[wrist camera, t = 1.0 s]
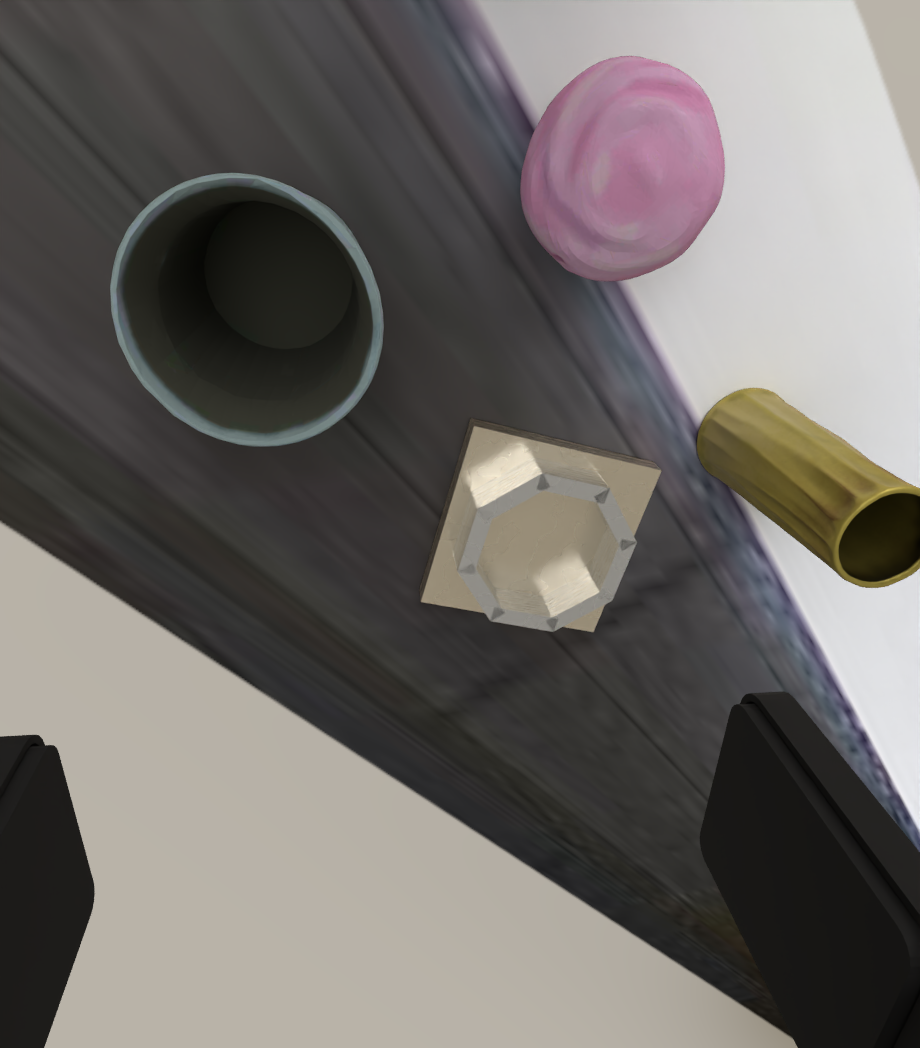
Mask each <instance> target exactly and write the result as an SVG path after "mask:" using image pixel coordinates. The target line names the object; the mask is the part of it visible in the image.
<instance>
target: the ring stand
mask: <svg viewBox="0 0 920 1048" xmlns="http://www.w3.org/2000/svg"><path fill="white" fill-rule="evenodd" d="M661 471H662V470H661V469H660V468H659V467H658V466H657V465H656V464H655V463H654V462H653V461H649V460H645V459H640V458H636V457H632V456H628V455H624V454H619V453H615V452H611V451H607V450H603V449H598V448H594V447H590V446H586V445H582V444H578V443H573V442H569V441H565V440H561V439H557V438H552V437H548V436H544V435H540V434H536V433H532V432H527V431H523V430H519V429H515V428H511V427H506V426H502V425H498V424H494V423H490V422H485V421H481V420H477V419H473V418H470V421H469V425H468V428H467V431H466V435H465V438H464V441H463V445H462V448H461V451H460V455H459V458H458V461H457V465H456V468H455V471H454V475H453V478H452V481H451V485H450V488H449V491H448V495H447V498H446V501H445V505H444V508H443V511H442V515H441V518H440V521H439V525H438V528H437V531H436V535H435V538H434V541H433V545H432V548H431V551H430V555H429V558H428V561H427V565H426V568H425V571H424V575H423V578H422V582H421V585H420V588H419V592H420V599H421V602H425V603H430V604H436V605H442V606H447V607H453V608H459V609H464V610H470V611H476V612H482V613H485V614H486V615H487V617H488V618H489V620H490V621H493V622H499V623H505V624H510V625H516V626H522V627H528V628H533V629H539V630H545V631H551V632H554V631H556V630H557V629H559V628H561V627H567V628H573V629H578V630H584V631H590V632H594V629H595V627H596V625H597V622H598V620H599V618H600V615H601V613H602V611H603V608H604V606H605V604H607V603H609V602H611V601H612V600H613V598H614V595H615V593H616V591H617V588H618V586H619V583H620V581H621V579H622V576H623V574H624V572H625V569H626V567H627V565H628V562H629V560H630V558H631V555H632V553H633V551H634V548H635V546H636V544H637V541H636V540H635V538H634V535H635V533H636V530H637V528H638V525H639V523H640V521H641V518H642V516H643V514H644V511H645V509H646V506H647V504H648V502H649V499H650V497H651V495H652V492H653V490H654V488H655V485H656V483H657V480H658V478H659V476H660V473H661Z"/></svg>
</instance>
